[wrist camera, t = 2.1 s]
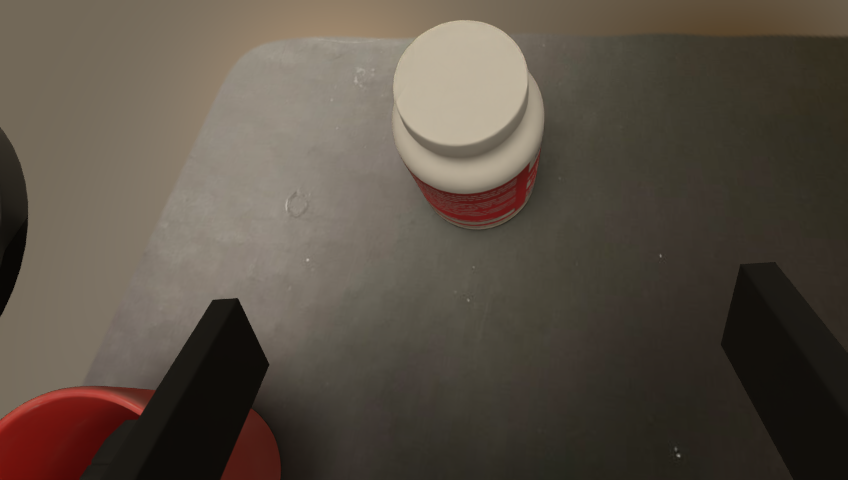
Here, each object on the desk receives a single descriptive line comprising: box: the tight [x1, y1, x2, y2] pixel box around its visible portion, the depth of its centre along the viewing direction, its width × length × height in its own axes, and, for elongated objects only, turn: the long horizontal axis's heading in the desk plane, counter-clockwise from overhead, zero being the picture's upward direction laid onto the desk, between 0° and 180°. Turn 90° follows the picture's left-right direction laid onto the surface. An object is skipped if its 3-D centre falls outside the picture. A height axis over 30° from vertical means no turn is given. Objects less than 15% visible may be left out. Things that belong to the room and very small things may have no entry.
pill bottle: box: [392, 20, 544, 229], centre depth 23 cm, size 6×6×11 cm
